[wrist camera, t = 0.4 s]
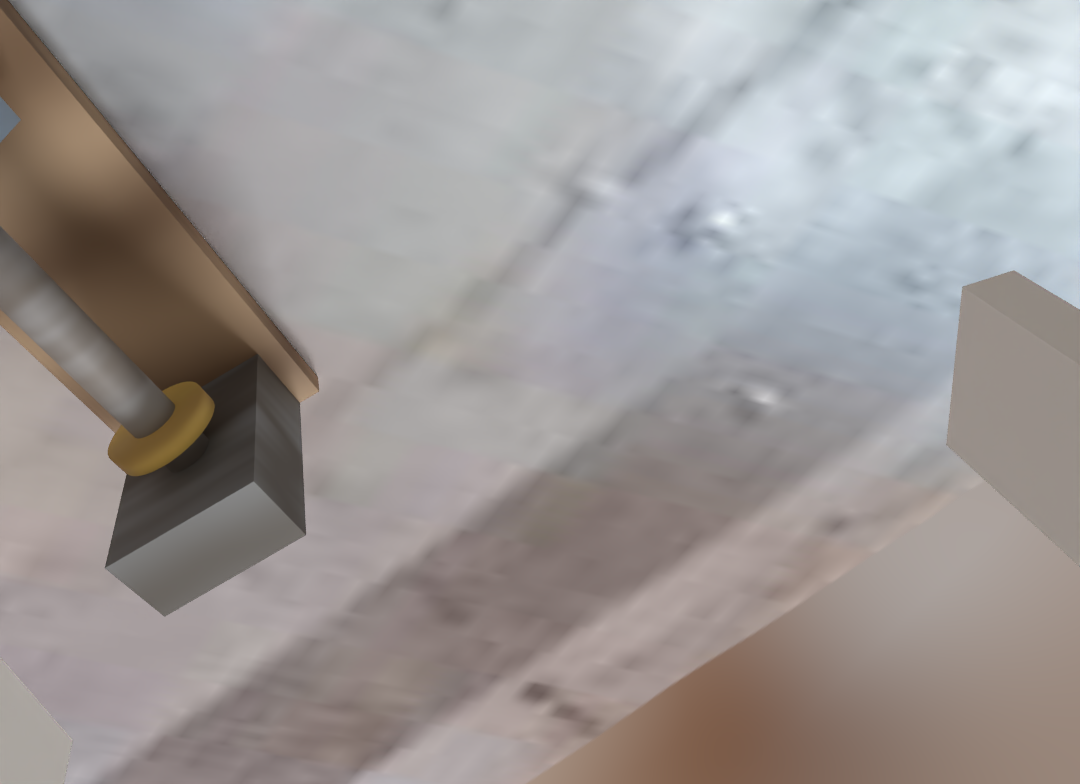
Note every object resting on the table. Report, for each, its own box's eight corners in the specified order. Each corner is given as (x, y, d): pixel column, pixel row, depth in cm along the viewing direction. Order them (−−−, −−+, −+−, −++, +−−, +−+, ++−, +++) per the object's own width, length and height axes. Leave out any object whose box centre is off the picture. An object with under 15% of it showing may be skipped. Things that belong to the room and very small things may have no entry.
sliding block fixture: (-305, 11, 28) (-556, 85, 19) (-95, -124, 27) (-258, -108, 19) (168, 465, 40) (141, 630, 32) (317, 377, 40) (329, 521, 31)
